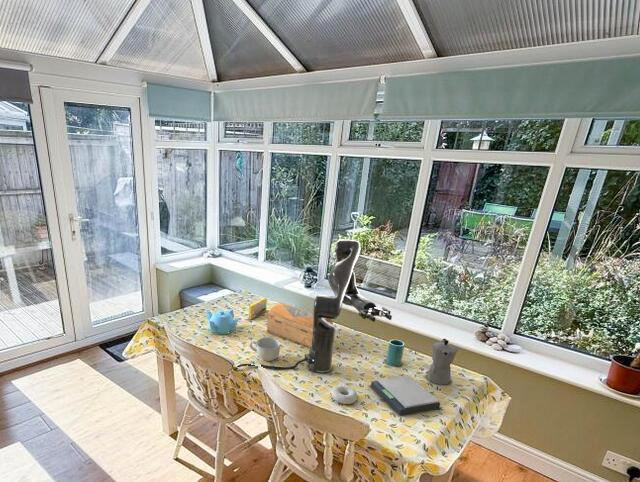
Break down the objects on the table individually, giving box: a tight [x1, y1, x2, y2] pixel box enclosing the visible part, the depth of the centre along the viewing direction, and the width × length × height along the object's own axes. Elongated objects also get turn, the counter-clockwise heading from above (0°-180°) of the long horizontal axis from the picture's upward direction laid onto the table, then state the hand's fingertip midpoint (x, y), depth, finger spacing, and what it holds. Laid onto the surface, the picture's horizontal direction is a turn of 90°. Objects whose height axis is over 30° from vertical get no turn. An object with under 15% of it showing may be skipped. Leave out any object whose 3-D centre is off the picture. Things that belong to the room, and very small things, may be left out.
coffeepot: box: [426, 338, 459, 385], centre depth 170 cm, size 15×9×18 cm, turn 159°
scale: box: [370, 374, 441, 416], centre depth 159 cm, size 17×20×3 cm
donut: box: [330, 385, 359, 405], centre depth 158 cm, size 10×3×10 cm
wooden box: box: [266, 302, 334, 348], centre depth 207 cm, size 30×16×14 cm, turn 48°
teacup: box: [249, 336, 281, 362], centre depth 186 cm, size 14×11×8 cm
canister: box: [385, 339, 405, 367], centre depth 183 cm, size 6×6×10 cm
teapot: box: [205, 308, 239, 336], centre depth 213 cm, size 15×15×11 cm
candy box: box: [248, 297, 268, 321], centre depth 233 cm, size 16×2×8 cm, turn 147°
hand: (382, 319), depth 190 cm, fingers open, 8 cm apart
